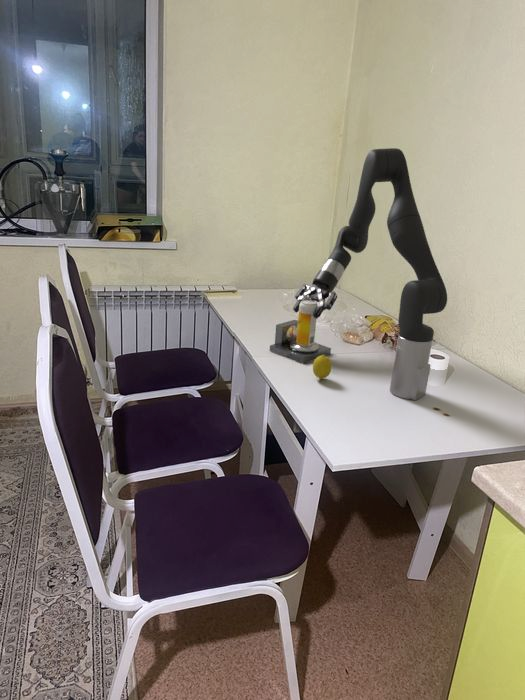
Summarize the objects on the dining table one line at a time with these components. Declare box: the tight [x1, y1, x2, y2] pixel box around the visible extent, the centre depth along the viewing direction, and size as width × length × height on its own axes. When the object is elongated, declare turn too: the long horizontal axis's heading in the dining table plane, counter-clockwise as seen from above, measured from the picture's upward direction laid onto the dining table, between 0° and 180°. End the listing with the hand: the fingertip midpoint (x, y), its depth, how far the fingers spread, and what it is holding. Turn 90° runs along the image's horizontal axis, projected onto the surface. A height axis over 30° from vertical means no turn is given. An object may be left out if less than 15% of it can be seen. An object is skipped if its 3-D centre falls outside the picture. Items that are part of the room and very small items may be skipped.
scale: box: [269, 319, 332, 364], centre depth 169 cm, size 15×15×9 cm
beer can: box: [296, 299, 319, 347], centre depth 166 cm, size 6×6×15 cm
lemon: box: [312, 355, 332, 380], centre depth 148 cm, size 6×6×8 cm
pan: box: [289, 340, 319, 353], centre depth 169 cm, size 10×10×1 cm
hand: (304, 314), depth 164 cm, fingers open, 8 cm apart
